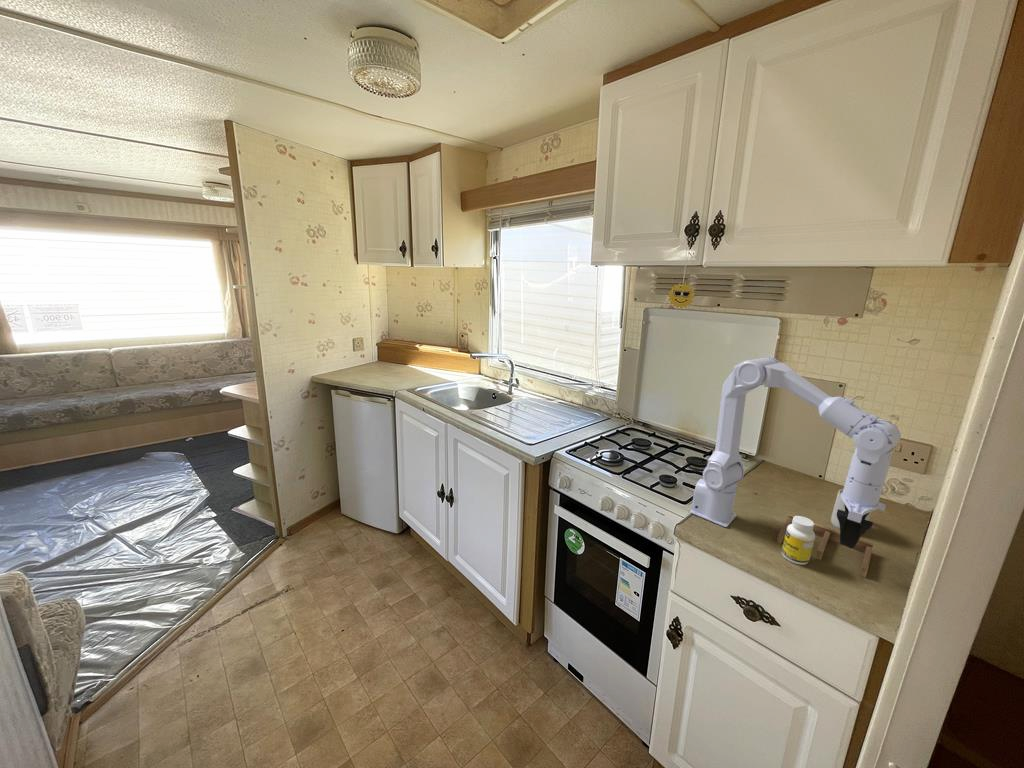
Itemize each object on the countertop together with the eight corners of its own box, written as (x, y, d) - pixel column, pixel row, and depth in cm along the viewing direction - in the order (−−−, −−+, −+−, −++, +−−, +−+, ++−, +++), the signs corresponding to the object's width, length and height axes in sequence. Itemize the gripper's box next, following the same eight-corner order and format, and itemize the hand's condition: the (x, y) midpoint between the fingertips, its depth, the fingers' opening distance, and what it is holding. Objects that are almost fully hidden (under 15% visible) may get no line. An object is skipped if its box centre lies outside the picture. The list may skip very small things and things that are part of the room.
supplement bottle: (775, 550, 99) (783, 514, 96) (796, 549, 99) (805, 513, 97) (792, 566, 94) (802, 528, 91) (814, 565, 94) (824, 527, 92)
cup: (828, 526, 109) (837, 496, 107) (832, 511, 116) (840, 482, 114) (864, 538, 105) (873, 507, 102) (865, 521, 112) (874, 492, 109)
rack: (776, 542, 102) (778, 533, 101) (787, 522, 110) (789, 514, 110) (865, 577, 91) (868, 568, 90) (870, 552, 99) (873, 543, 98)
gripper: (889, 500, 77) (870, 563, 80) (892, 474, 87) (875, 531, 90) (841, 486, 81) (825, 546, 85) (850, 463, 91) (835, 517, 95)
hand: (848, 537), depth 88 cm, fingers open, 7 cm apart
